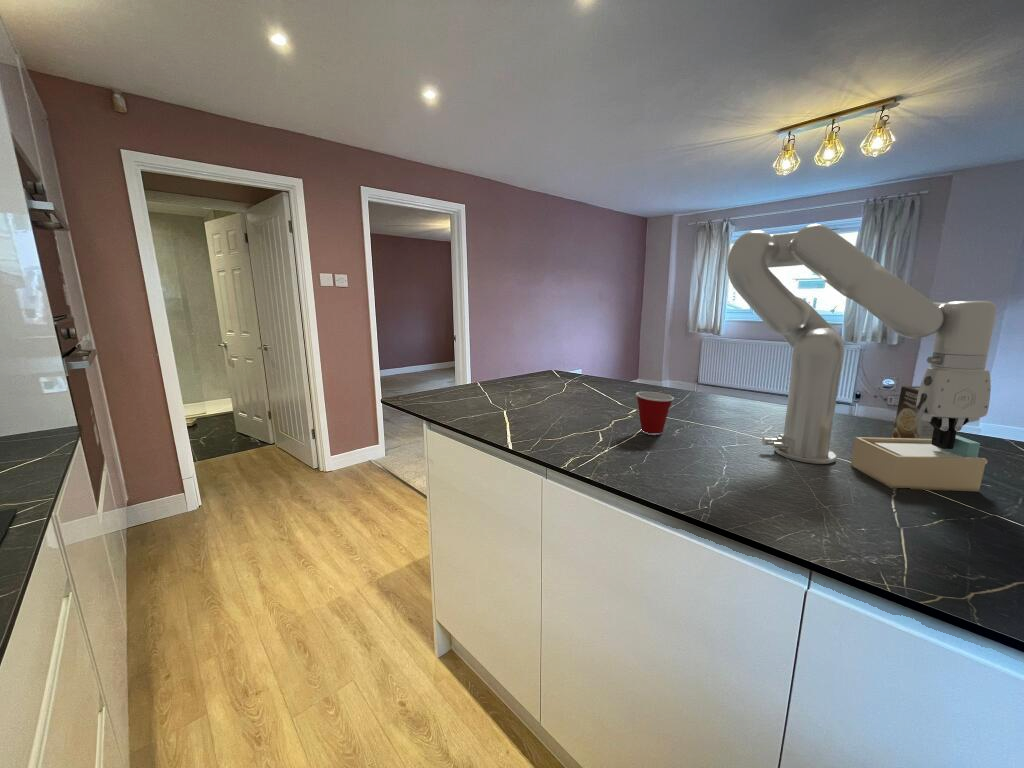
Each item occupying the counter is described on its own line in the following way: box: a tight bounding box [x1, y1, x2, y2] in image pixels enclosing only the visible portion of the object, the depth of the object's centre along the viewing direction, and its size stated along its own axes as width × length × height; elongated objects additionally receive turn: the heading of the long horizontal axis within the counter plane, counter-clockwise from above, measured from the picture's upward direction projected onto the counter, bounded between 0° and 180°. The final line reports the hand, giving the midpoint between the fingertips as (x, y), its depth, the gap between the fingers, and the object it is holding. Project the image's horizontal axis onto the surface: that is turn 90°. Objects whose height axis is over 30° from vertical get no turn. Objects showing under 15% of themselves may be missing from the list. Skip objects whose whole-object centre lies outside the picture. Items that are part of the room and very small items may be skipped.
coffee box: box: [891, 385, 940, 439], centre depth 102 cm, size 9×6×16 cm
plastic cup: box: [635, 391, 675, 433], centre depth 119 cm, size 11×11×12 cm
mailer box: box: [850, 436, 987, 492], centre depth 87 cm, size 16×12×7 cm
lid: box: [873, 434, 988, 465], centre depth 86 cm, size 14×10×4 cm
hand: (941, 446), depth 85 cm, fingers closed
